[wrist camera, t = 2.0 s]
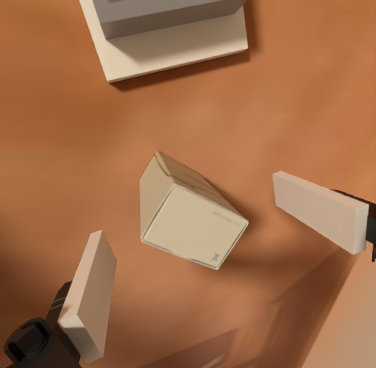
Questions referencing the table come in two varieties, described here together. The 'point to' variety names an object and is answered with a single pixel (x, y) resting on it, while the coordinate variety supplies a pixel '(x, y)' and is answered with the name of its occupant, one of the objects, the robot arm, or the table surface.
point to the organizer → (163, 33)
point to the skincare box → (186, 214)
